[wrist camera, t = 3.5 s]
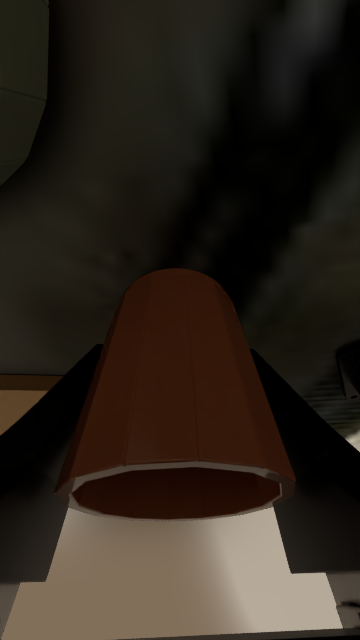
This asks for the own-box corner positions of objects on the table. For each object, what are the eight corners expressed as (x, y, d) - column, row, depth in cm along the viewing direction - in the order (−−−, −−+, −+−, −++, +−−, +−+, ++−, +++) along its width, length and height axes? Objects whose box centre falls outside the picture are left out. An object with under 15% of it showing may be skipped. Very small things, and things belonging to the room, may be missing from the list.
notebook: (166, 444, 24) (165, 457, 23) (-10, 443, 22) (-18, 457, 21) (170, 377, 16) (170, 393, 15) (-97, 371, 15) (-117, 387, 14)
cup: (250, 332, 13) (318, 505, 7) (159, 368, 15) (150, 527, 9) (201, 241, 9) (250, 431, 3) (91, 305, 12) (-2, 496, 5)
